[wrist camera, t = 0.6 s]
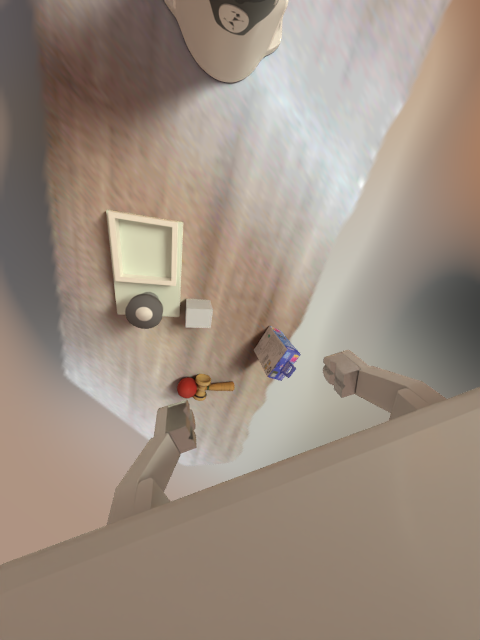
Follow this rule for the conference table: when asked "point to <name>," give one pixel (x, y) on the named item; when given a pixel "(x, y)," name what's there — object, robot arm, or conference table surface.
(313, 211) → the conference table surface
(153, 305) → the wheel
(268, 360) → the ink cartridge box
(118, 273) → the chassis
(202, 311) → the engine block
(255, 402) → the conference table surface
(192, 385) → the kendama
